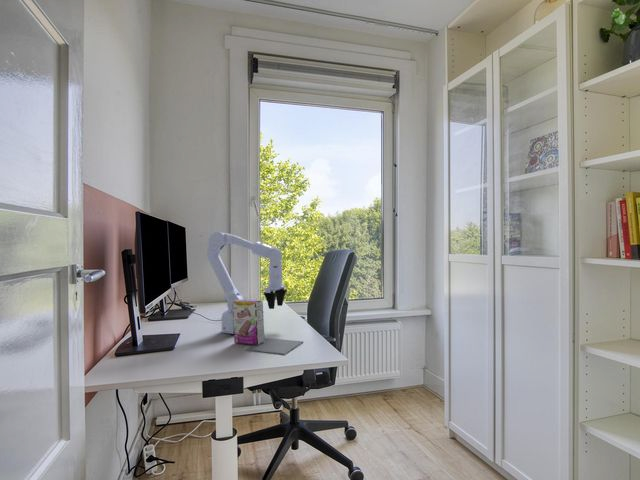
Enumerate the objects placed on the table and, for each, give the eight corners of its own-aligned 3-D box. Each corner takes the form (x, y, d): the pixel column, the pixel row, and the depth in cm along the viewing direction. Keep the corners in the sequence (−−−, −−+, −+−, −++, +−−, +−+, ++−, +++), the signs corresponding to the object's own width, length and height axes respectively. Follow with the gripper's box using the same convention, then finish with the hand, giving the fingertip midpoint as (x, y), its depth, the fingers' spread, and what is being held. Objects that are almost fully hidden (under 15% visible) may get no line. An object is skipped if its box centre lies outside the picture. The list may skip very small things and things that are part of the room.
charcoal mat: (245, 350, 135) (245, 349, 135) (266, 338, 150) (266, 337, 150) (285, 354, 130) (285, 353, 130) (303, 342, 145) (303, 341, 145)
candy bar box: (233, 343, 144) (231, 301, 144) (241, 340, 148) (239, 299, 148) (257, 345, 139) (255, 301, 139) (265, 342, 144) (263, 299, 144)
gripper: (275, 278, 155) (275, 310, 155) (291, 274, 169) (291, 304, 169) (260, 277, 158) (261, 309, 158) (277, 274, 171) (277, 303, 172)
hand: (275, 307), depth 164 cm, fingers open, 7 cm apart
